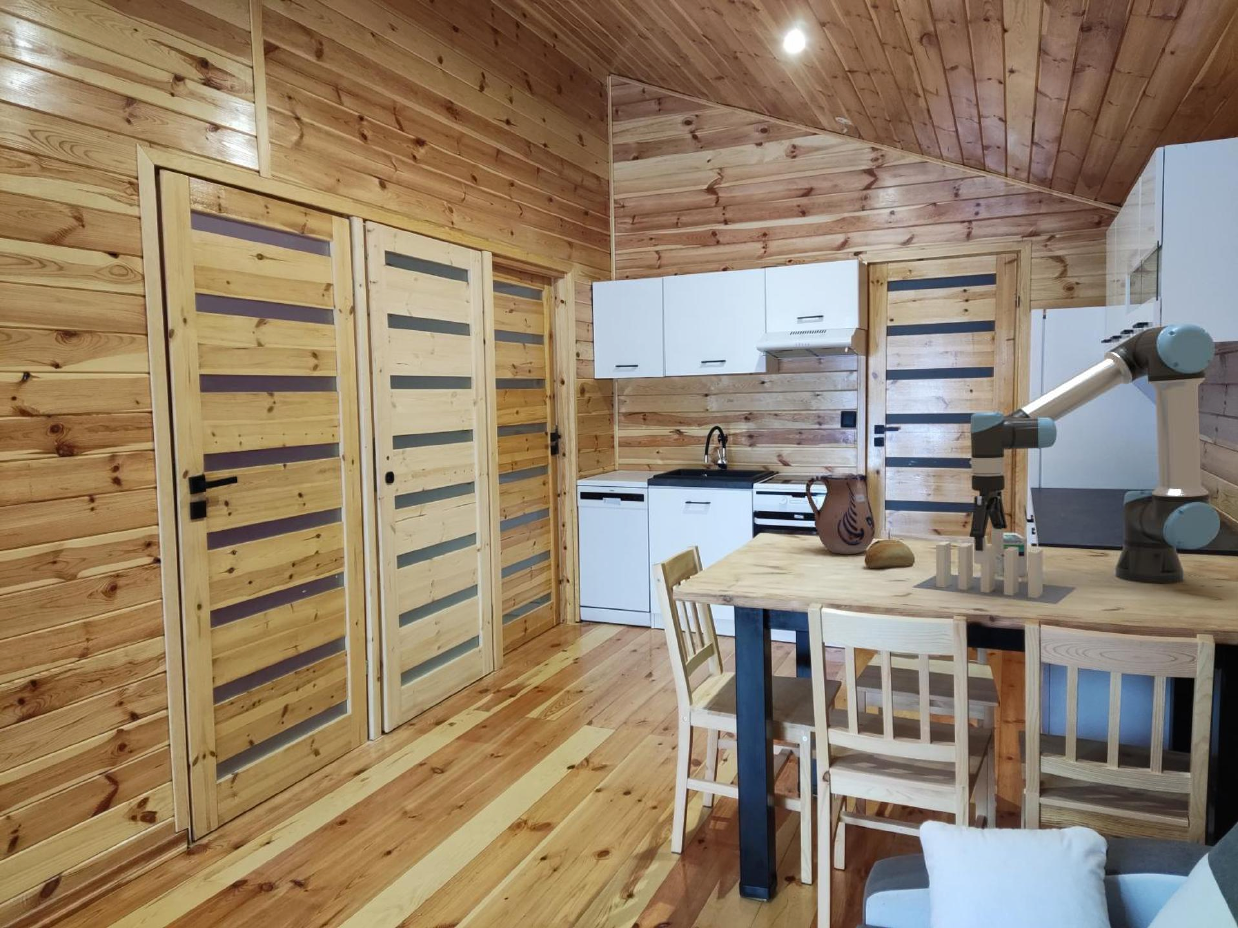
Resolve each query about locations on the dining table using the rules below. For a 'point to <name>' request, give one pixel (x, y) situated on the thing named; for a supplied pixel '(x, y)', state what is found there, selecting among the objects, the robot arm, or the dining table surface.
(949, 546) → the domino
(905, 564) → the bread roll
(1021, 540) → the light bulb box
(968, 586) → the domino
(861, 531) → the ceramic pitcher
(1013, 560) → the domino
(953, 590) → the mat
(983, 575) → the domino
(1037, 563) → the domino
